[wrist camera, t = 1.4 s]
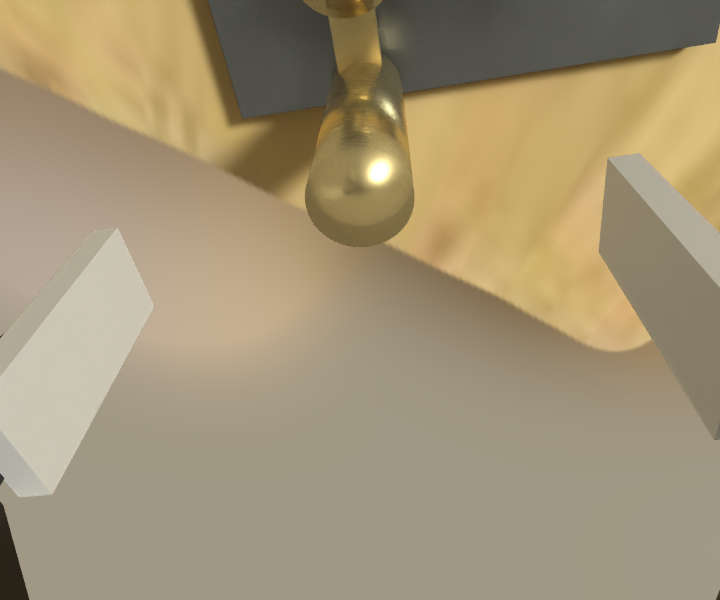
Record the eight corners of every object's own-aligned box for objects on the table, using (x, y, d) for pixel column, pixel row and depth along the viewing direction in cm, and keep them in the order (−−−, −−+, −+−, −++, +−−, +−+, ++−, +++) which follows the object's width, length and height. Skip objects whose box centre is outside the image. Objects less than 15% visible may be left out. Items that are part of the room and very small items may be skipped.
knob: (275, -111, 21) (200, -105, 12) (392, -135, 20) (402, -148, 12) (325, 130, 26) (299, 255, 18) (418, 116, 26) (438, 237, 17)
